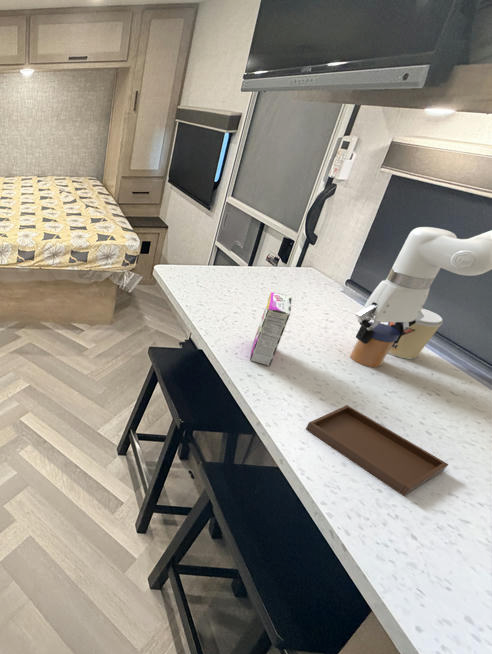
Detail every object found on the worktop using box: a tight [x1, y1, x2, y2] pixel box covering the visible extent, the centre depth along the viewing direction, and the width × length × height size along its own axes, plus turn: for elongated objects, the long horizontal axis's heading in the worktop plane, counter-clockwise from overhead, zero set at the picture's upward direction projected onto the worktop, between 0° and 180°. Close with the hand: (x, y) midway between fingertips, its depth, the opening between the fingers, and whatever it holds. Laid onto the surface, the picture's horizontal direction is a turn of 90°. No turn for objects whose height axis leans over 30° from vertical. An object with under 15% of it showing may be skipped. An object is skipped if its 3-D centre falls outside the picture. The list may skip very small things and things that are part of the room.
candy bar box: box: [249, 291, 293, 367], centre depth 105 cm, size 11×5×16 cm, turn 145°
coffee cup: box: [387, 308, 443, 360], centre depth 107 cm, size 9×9×12 cm
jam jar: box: [349, 338, 394, 368], centre depth 104 cm, size 6×6×10 cm
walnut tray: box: [305, 404, 449, 497], centre depth 80 cm, size 17×13×2 cm
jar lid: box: [369, 321, 400, 342], centre depth 102 cm, size 7×7×2 cm
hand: (376, 340), depth 103 cm, fingers closed on jar lid, 6 cm apart
